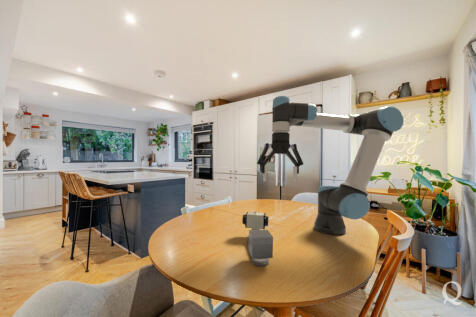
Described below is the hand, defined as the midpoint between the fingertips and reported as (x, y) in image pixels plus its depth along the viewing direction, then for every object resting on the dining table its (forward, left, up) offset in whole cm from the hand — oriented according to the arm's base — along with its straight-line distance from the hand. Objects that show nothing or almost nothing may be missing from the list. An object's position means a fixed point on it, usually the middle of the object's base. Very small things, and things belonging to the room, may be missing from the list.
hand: (279, 181), depth 88 cm
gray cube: (+12, +16, -24) cm, 31 cm away
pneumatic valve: (+9, -7, -27) cm, 29 cm away
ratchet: (+12, +9, -27) cm, 31 cm away
